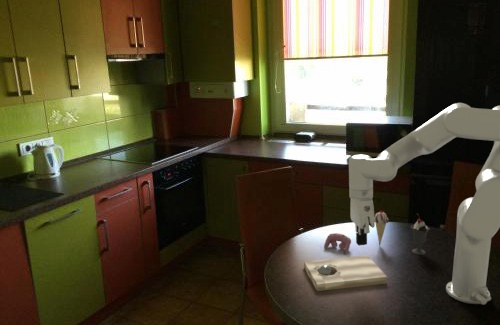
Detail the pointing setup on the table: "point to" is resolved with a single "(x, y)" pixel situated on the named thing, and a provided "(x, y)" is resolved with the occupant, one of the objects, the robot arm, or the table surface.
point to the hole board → (345, 273)
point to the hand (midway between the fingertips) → (361, 244)
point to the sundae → (419, 235)
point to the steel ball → (325, 270)
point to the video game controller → (338, 237)
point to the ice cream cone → (380, 224)
